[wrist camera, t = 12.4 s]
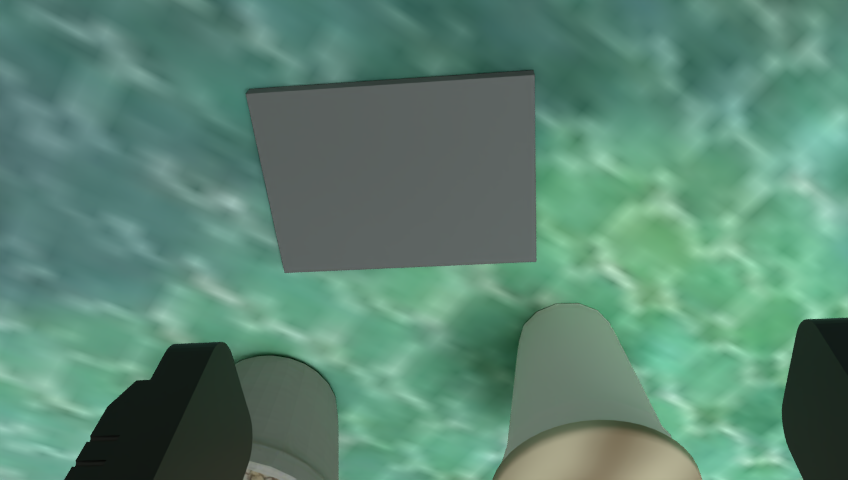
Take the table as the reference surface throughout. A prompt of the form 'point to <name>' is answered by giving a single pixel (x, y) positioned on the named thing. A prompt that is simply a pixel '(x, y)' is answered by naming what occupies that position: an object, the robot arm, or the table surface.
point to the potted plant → (289, 420)
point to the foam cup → (573, 375)
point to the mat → (400, 171)
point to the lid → (599, 454)
